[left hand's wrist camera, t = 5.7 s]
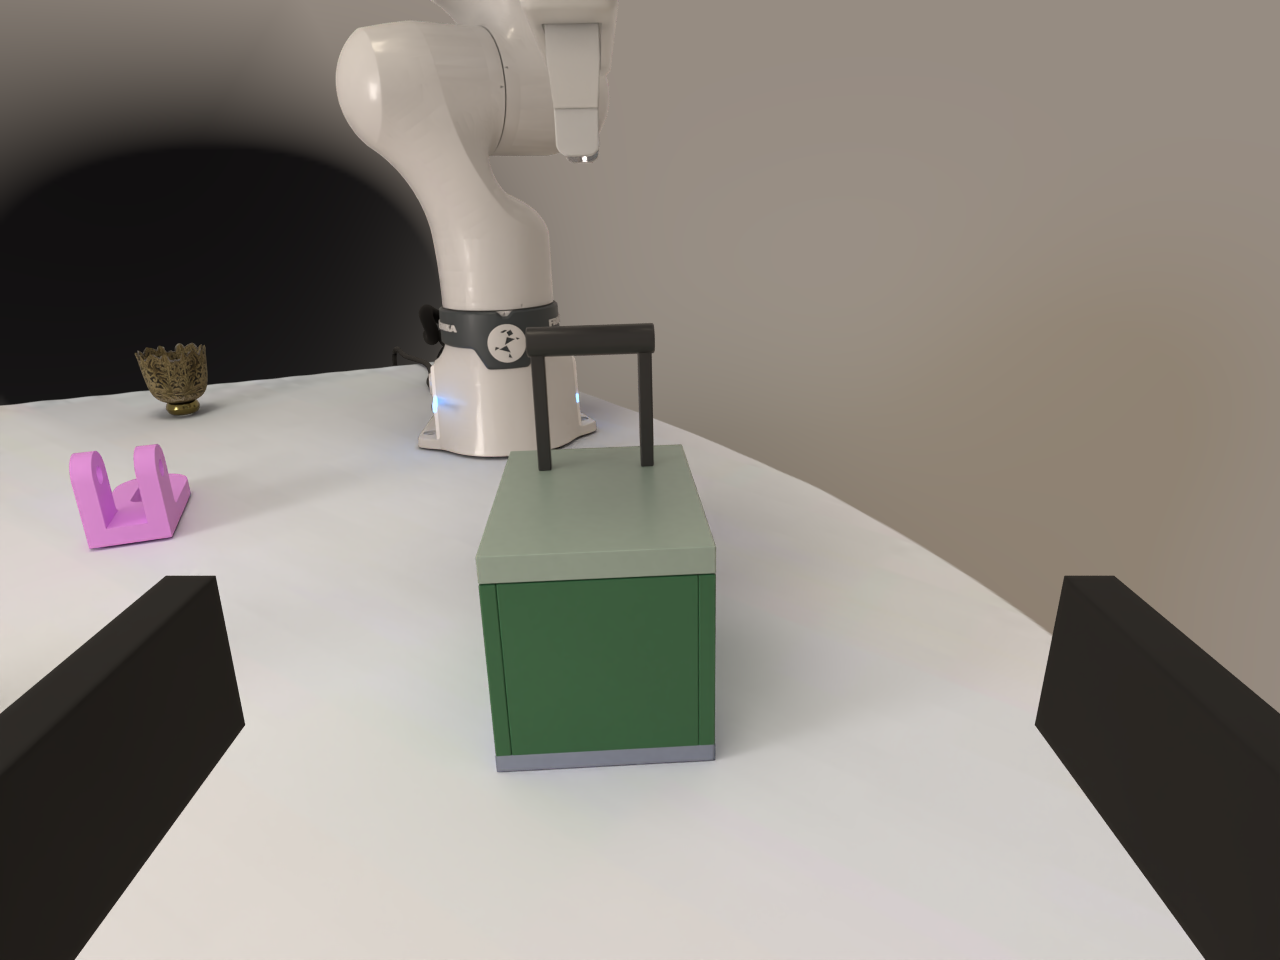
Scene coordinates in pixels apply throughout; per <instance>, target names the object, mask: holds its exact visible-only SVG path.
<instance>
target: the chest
mask: <svg viewBox="0 0 1280 960" xmlns="http://www.w3.org/2000/svg"><path fill="white" fill-rule="evenodd" d="M479 596H480V605H481V615H482V625H483V635H484V644H485V654H486V664H487V674H488V683H489V693H490V703H491V713H492V722H493V732H494V742H495V752H496V756H495V757H496V767H497V772H500V771H519V770H537V769H555V768H574V767H592V766H610V765H629V764H647V763H665V762H684V761H702V760H715V614H716V575H715V573H708V574H686V575H664V576H642V577H621V578H599V579H577V580H555V581H533V582H511V583H489V584H479Z"/></svg>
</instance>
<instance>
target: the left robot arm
mask: <svg viewBox="0 0 1280 960" xmlns="http://www.w3.org/2000/svg"><path fill="white" fill-rule="evenodd" d="M244 726H245V722H244V717H243V712H242V707H241V702H240V697H239V691H238V686H237V681H236V676H235V671H234V666H233V661H232V656H231V651H230V646H229V641H228V636H227V631H226V626H225V621H224V616H223V611H222V606H221V601H220V596H219V591H218V586H217V581H216V576H165V577H164V578H163V579H162V580H160V581H159V582H158V583H157V584H156V585H154V586H153V587H152V588H151V589H150V590H148V591H147V592H146V593H145V594H144V595H142V596H141V597H140V598H139V599H138V600H136V601H135V602H134V603H133V604H132V605H130V606H129V607H128V608H127V609H125V610H124V611H123V612H122V613H121V614H119V615H118V616H117V617H116V618H115V619H113V620H112V621H111V622H110V623H109V624H107V625H106V626H105V627H104V628H103V629H101V630H100V631H99V632H98V633H97V634H95V635H94V636H93V637H92V638H91V639H89V640H88V641H87V642H86V643H85V644H83V645H82V646H81V647H80V648H79V649H77V650H76V651H75V652H74V653H73V654H71V655H70V656H69V657H68V658H67V659H65V660H64V661H63V662H62V663H61V664H59V665H58V666H57V667H56V668H55V669H53V670H52V671H51V672H50V673H49V674H47V675H46V676H45V677H44V678H43V679H41V680H40V681H39V682H38V683H37V684H35V685H34V686H33V687H32V688H31V689H29V690H28V691H27V692H26V693H25V694H23V695H22V696H21V697H20V698H19V699H17V700H16V701H15V702H14V703H13V704H11V705H10V706H9V707H8V708H7V709H5V710H4V711H3V712H2V713H1V714H0V960H75V958H76V957H77V956H78V954H79V953H80V952H81V950H82V949H83V947H84V946H85V945H86V943H87V942H88V941H89V939H90V938H91V936H92V935H93V934H94V932H95V931H96V930H97V928H98V927H99V925H100V924H101V923H102V921H103V920H104V919H105V917H106V916H107V914H108V913H109V912H110V910H111V909H112V908H113V906H114V905H115V903H116V902H117V901H118V899H119V898H120V897H121V895H122V894H123V892H124V891H125V890H126V888H127V887H128V885H129V884H130V883H131V881H132V880H133V879H134V877H135V876H136V874H137V873H138V872H139V870H140V869H141V868H142V866H143V865H144V863H145V862H146V861H147V859H148V858H149V857H150V855H151V854H152V852H153V851H154V850H155V848H156V847H157V846H158V844H159V843H160V841H161V840H162V839H163V837H164V836H165V835H166V833H167V832H168V830H169V829H170V828H171V826H172V825H173V824H174V822H175V821H176V819H177V818H178V817H179V815H180V814H181V813H182V811H183V810H184V808H185V807H186V806H187V804H188V803H189V802H190V800H191V799H192V797H193V796H194V795H195V793H196V792H197V790H198V789H199V788H200V786H201V785H202V784H203V782H204V781H205V779H206V778H207V777H208V775H209V774H210V773H211V771H212V770H213V768H214V767H215V766H216V764H217V763H218V762H219V760H220V759H221V757H222V756H223V755H224V753H225V752H226V751H227V749H228V748H229V746H230V745H231V744H232V742H233V741H234V740H235V738H236V737H237V735H238V734H239V733H240V731H241V730H242V729H243V727H244ZM1035 726H1036V727H1037V729H1038V730H1039V731H1040V733H1041V734H1042V735H1043V737H1044V738H1045V740H1046V741H1047V742H1048V744H1049V745H1050V746H1051V748H1052V749H1053V751H1054V752H1055V753H1056V755H1057V756H1058V757H1059V759H1060V760H1061V762H1062V763H1063V764H1064V766H1065V767H1066V768H1067V770H1068V771H1069V773H1070V774H1071V775H1072V777H1073V778H1074V779H1075V781H1076V782H1077V784H1078V785H1079V786H1080V788H1081V789H1082V790H1083V792H1084V793H1085V795H1086V796H1087V797H1088V799H1089V800H1090V802H1091V803H1092V804H1093V806H1094V807H1095V808H1096V810H1097V811H1098V813H1099V814H1100V815H1101V817H1102V818H1103V819H1104V821H1105V822H1106V824H1107V825H1108V826H1109V828H1110V829H1111V830H1112V832H1113V833H1114V835H1115V836H1116V837H1117V839H1118V840H1119V841H1120V843H1121V844H1122V846H1123V847H1124V848H1125V850H1126V851H1127V852H1128V854H1129V855H1130V857H1131V858H1132V859H1133V861H1134V862H1135V863H1136V865H1137V866H1138V868H1139V869H1140V870H1141V872H1142V873H1143V874H1144V876H1145V877H1146V879H1147V880H1148V881H1149V883H1150V884H1151V885H1152V887H1153V888H1154V890H1155V891H1156V892H1157V894H1158V895H1159V897H1160V898H1161V899H1162V901H1163V902H1164V903H1165V905H1166V906H1167V908H1168V909H1169V910H1170V912H1171V913H1172V914H1173V916H1174V917H1175V919H1176V920H1177V921H1178V923H1179V924H1180V925H1181V927H1182V928H1183V930H1184V931H1185V932H1186V934H1187V935H1188V936H1189V938H1190V939H1191V941H1192V942H1193V943H1194V945H1195V946H1196V947H1197V949H1198V950H1199V952H1200V953H1201V954H1202V956H1203V957H1204V958H1205V960H1280V714H1279V713H1278V712H1277V711H1276V710H1275V709H1273V708H1272V707H1271V706H1270V705H1269V704H1267V703H1266V702H1265V701H1264V700H1263V699H1261V698H1260V697H1259V696H1258V695H1257V694H1255V693H1254V692H1253V691H1252V690H1251V689H1249V688H1248V687H1247V686H1246V685H1245V684H1243V683H1242V682H1241V681H1240V680H1239V679H1237V678H1236V677H1235V676H1234V675H1232V674H1231V673H1230V672H1229V671H1228V670H1227V669H1225V668H1224V667H1223V666H1222V665H1221V664H1219V663H1218V662H1217V661H1216V660H1215V659H1213V658H1212V657H1211V656H1210V655H1209V654H1207V653H1206V652H1205V651H1204V650H1203V649H1201V648H1200V647H1199V646H1198V645H1197V644H1195V643H1194V642H1193V641H1192V640H1190V639H1189V638H1188V637H1187V636H1186V635H1185V634H1183V633H1182V632H1181V631H1180V630H1178V629H1177V628H1176V627H1175V626H1174V625H1173V624H1171V623H1170V622H1169V621H1168V620H1167V619H1165V618H1164V617H1163V616H1162V615H1161V614H1159V613H1158V612H1157V611H1156V610H1154V609H1153V608H1152V607H1151V606H1150V605H1148V604H1147V603H1146V602H1145V601H1144V600H1142V599H1141V598H1140V597H1139V596H1138V595H1136V594H1135V593H1134V592H1133V591H1132V590H1130V589H1129V588H1128V587H1127V586H1126V585H1124V584H1123V583H1122V582H1121V581H1120V580H1118V579H1117V578H1116V577H1115V576H1064V581H1063V586H1062V591H1061V596H1060V601H1059V606H1058V611H1057V616H1056V621H1055V626H1054V631H1053V636H1052V641H1051V646H1050V651H1049V656H1048V661H1047V666H1046V671H1045V676H1044V681H1043V686H1042V691H1041V697H1040V702H1039V707H1038V712H1037V717H1036V722H1035Z"/></svg>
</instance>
